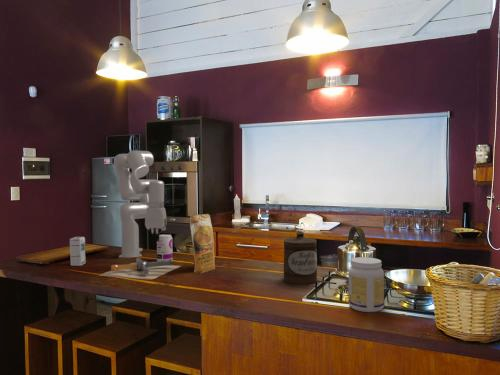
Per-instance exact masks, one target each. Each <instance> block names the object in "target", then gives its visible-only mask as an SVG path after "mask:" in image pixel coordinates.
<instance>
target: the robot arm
mask: <svg viewBox="0 0 500 375" xmlns="http://www.w3.org/2000/svg"><path fill="white" fill-rule="evenodd" d="M154 159H155V158H154V154H152V152H150V151H149V150H130V151H129V152H128V153H119V154H117V155H116V156H114V159H113V167H114V170H115V173H116V175H117V178H118V187H119V196H120V198H121V200H123V201H124V203H123V204H121V205H119V217H120V224H121V226H120V228H121V254H119V255H118V258H119V259H120V258H127V259H128V258H129V259H130V258H139V257H142V256H143V255H142V253H141V252H142V251H143V250H144V249H143V248H142V247H140V244H139V242H140V237H139V236H140V234H139V233H140V232H139V230H140V229H139V224H138V223H137V222H136V221H135V220H137V219H139V220H140V219H144V226H145V228H146V230H149V231H150V233H151V234H152V242H156V243H157V241H159V235H160V234H161V232H162V231H166V230H167V225H168V224H167V211H166V208H165V182H164V181H163V180H158V179H142V178H144V177H145V176H147V175H148V173H149V172H150V166H152V165H153V164H154V161H155V160H154ZM128 169H131V172H130V170H128ZM125 201H126V202H125ZM127 201H128V202H127ZM130 201H132V202H130ZM134 201H135V202H134ZM136 201H139V202H136Z"/></svg>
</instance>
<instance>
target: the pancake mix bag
mask: <svg viewBox="0 0 500 375" xmlns="http://www.w3.org/2000/svg"><path fill="white" fill-rule="evenodd" d="M188 223H189V229H190V240H191V245H192V248H193V249H192V250H193V273H196V272H198V273H197V274H198V275H201V274H204V273H208V272H210V271H214V270H215V269H216V264H215V260H216V259H215V239H214V230H213V225H212V219H211V215H210V214H209V213H204V214H195V215H191V216H190V217H189V222H188Z"/></svg>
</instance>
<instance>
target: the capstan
mask: <svg viewBox="0 0 500 375" xmlns="http://www.w3.org/2000/svg"><path fill="white" fill-rule="evenodd" d="M135 258H136V259H135V261H136V262H135V263H136V264H131V263H125V264H124V263H123V264H112V265H111V266H110V268H111V269H110V271H116V270H124V269H135V268H137V270H138V271H143V273H144V274H148V268H147V267H156V266H167V265H172V262H171V261H170V260H169V261H158V262H157V261H149V262H148V261H146V260H142V259H141V258H140V257H135Z"/></svg>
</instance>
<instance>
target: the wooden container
mask: <svg viewBox="0 0 500 375" xmlns="http://www.w3.org/2000/svg"><path fill="white" fill-rule="evenodd" d="M295 234H296V236H295V237H288V238H284V240H283V281H284V282H286V283H288V284H294V285H309V284H313V283H316V282H318V281H317V280H318V257H317V256H318V249H317V239H315V238H312V237H305V233H304V232H303V231H302V230H301V231H300V230H299V231H297V232H296V233H295Z"/></svg>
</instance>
